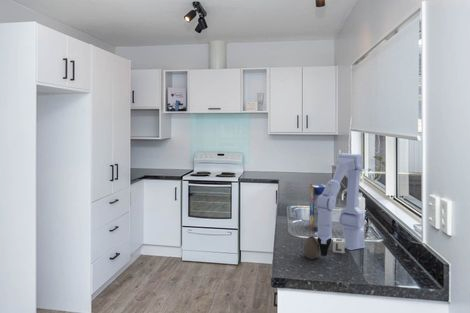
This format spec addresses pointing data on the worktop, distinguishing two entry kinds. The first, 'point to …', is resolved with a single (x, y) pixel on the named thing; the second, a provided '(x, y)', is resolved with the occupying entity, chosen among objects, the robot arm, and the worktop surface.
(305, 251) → the vase
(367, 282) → the worktop surface
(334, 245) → the letter cube
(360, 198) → the milk
